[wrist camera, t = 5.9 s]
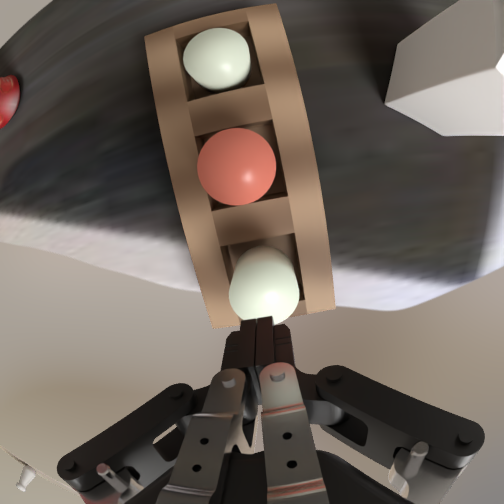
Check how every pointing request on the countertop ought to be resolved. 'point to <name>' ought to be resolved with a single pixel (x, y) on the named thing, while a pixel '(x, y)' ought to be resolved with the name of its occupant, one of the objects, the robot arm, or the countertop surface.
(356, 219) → the countertop surface
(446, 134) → the milk carton
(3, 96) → the liquor
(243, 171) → the red ball
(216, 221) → the wooden ball rack
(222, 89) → the pale green sphere
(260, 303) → the cream white sphere
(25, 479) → the salt shaker
